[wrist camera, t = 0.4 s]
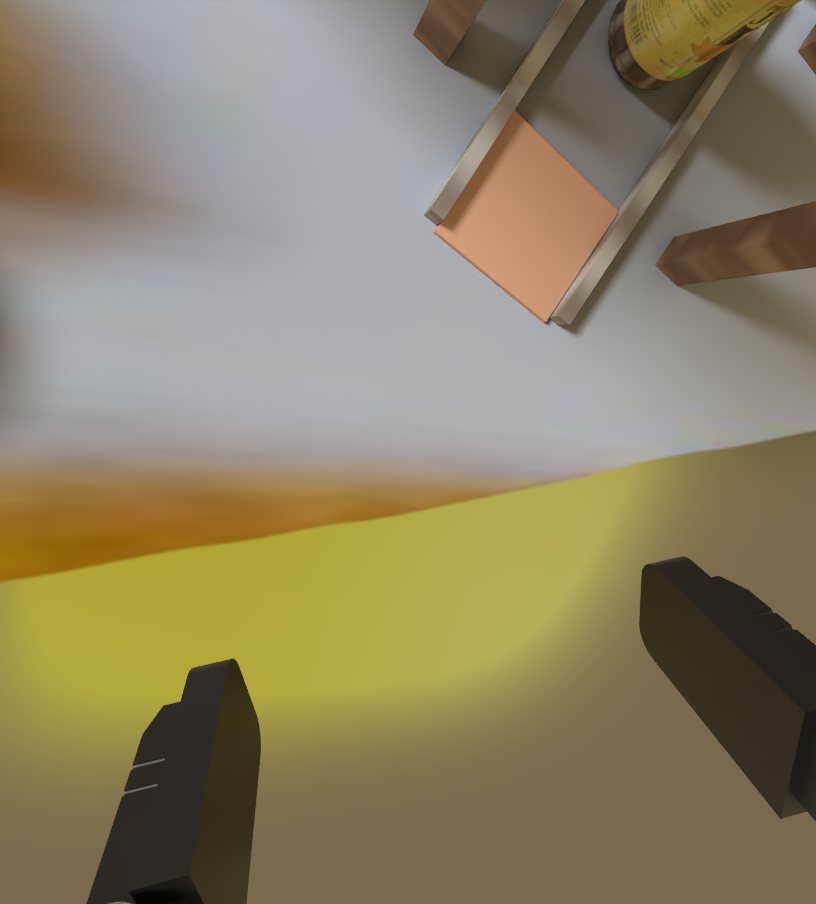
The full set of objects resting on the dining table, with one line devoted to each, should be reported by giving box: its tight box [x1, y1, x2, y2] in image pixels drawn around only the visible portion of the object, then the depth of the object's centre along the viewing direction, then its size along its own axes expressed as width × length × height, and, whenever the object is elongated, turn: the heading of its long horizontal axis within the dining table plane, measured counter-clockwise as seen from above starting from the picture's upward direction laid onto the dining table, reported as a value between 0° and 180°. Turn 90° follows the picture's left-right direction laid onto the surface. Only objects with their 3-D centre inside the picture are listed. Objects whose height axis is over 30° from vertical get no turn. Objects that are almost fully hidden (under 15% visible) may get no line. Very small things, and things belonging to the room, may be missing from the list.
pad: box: [433, 110, 619, 322], centre depth 35 cm, size 9×10×1 cm
